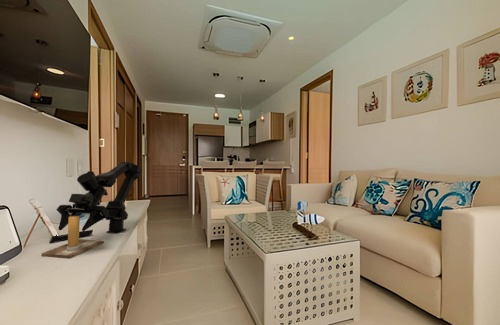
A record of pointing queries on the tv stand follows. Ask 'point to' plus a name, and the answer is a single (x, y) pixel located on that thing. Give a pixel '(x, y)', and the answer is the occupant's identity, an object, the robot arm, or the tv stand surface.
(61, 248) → the subfloor panel
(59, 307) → the tv stand surface
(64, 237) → the electric trimmer
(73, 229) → the orange rounded post
